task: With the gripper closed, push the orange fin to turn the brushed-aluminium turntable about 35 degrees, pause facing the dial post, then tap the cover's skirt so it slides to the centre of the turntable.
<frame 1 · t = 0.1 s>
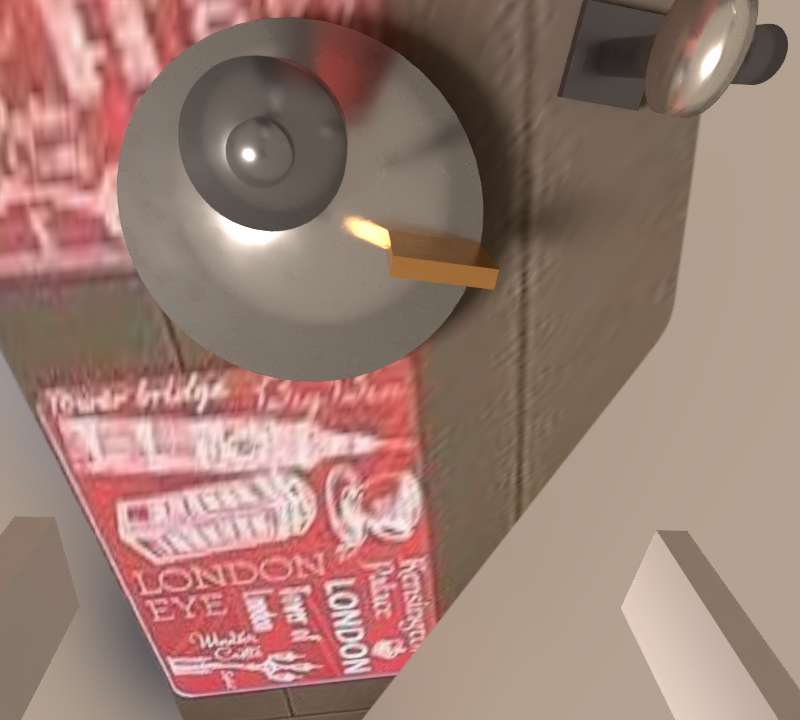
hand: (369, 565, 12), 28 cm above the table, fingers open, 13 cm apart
turntable: (304, 235, 32), point 5 cm above the table, hinge at 0.0°, touching cover
cover: (277, 137, 30), point 3 cm above the table, touching turntable
dial post: (608, 57, 32), on the table
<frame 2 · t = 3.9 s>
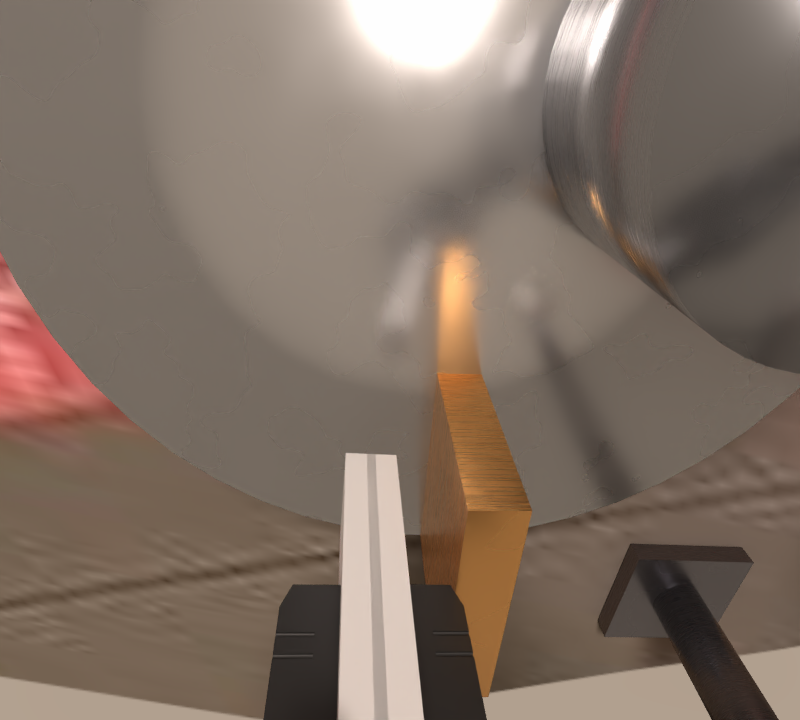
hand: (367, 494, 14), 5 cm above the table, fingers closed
turntable: (499, 193, 11), point 5 cm above the table, hinge at 2.6°, touching cover, gripper
cover: (730, 91, 11), point 3 cm above the table, touching turntable
dial post: (667, 585, 24), on the table
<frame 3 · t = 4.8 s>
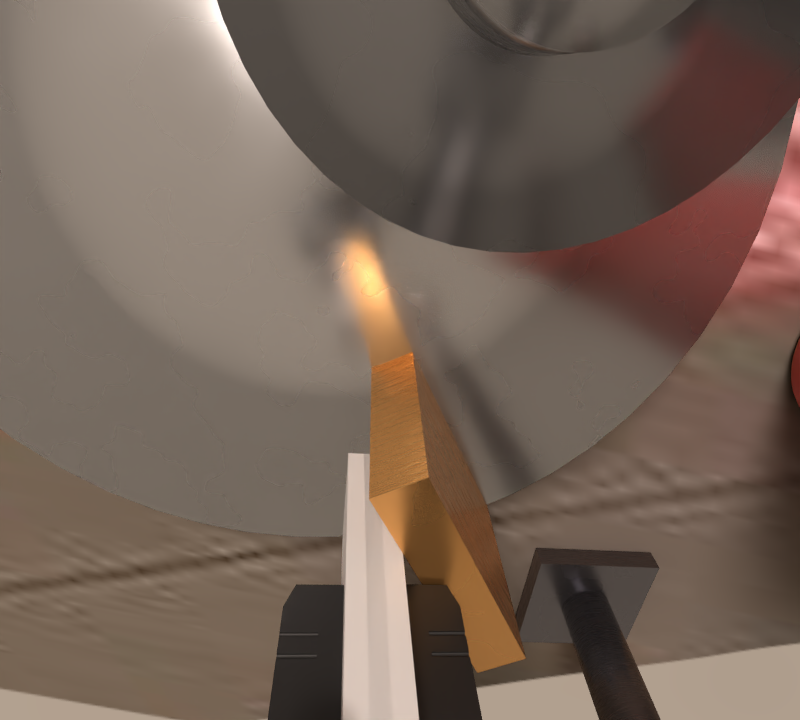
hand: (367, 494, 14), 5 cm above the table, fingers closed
turntable: (291, 195, 11), point 5 cm above the table, hinge at 29.3°, touching cover, gripper
dial post: (578, 590, 24), on the table
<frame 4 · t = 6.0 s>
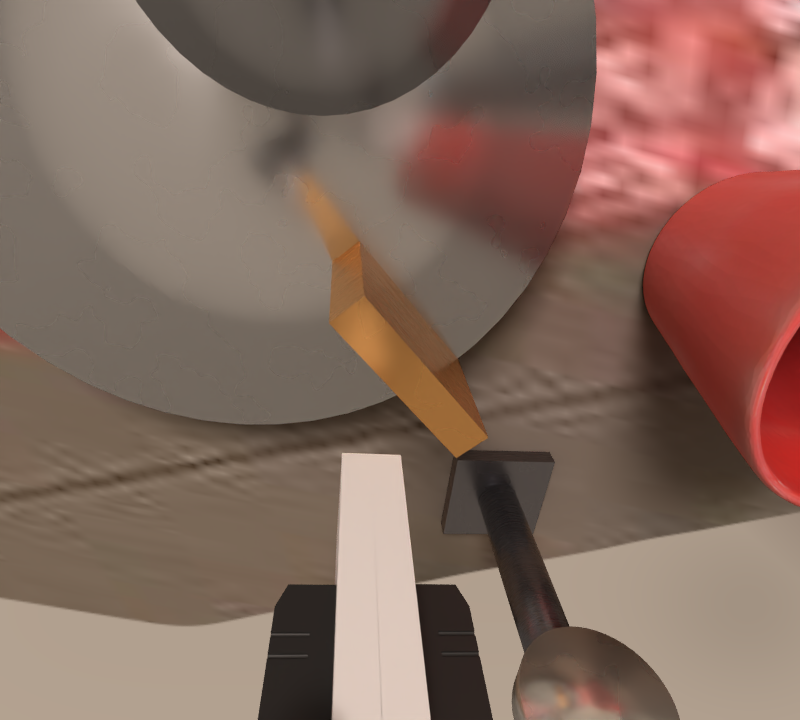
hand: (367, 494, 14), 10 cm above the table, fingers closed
flower pot: (722, 262, 24), on the table
turntable: (229, 131, 15), point 5 cm above the table, hinge at 43.2°, touching cover
dial post: (493, 488, 28), on the table
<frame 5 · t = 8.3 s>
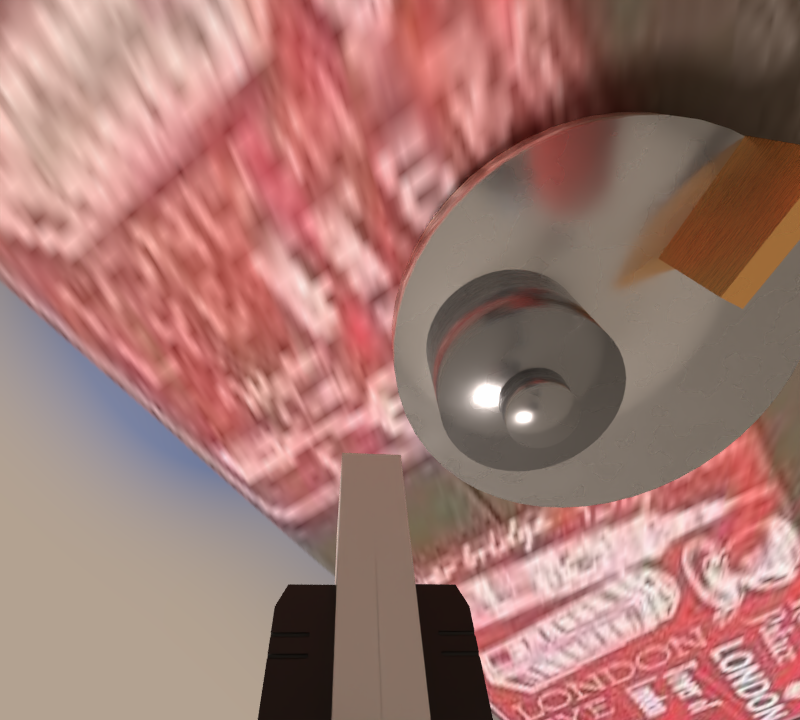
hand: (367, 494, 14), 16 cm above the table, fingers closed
turntable: (618, 362, 26), point 5 cm above the table, hinge at 43.2°, touching cover
cover: (504, 344, 27), point 3 cm above the table, touching turntable
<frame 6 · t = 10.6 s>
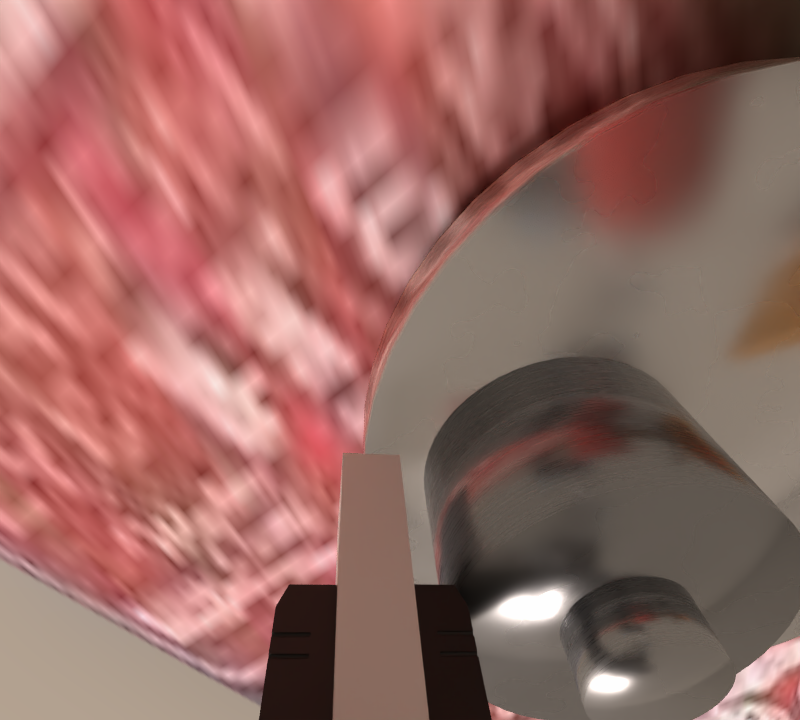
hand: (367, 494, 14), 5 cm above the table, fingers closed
turntable: (750, 498, 15), point 5 cm above the table, hinge at 43.2°, touching cover
cover: (554, 472, 16), point 3 cm above the table, touching gripper, turntable
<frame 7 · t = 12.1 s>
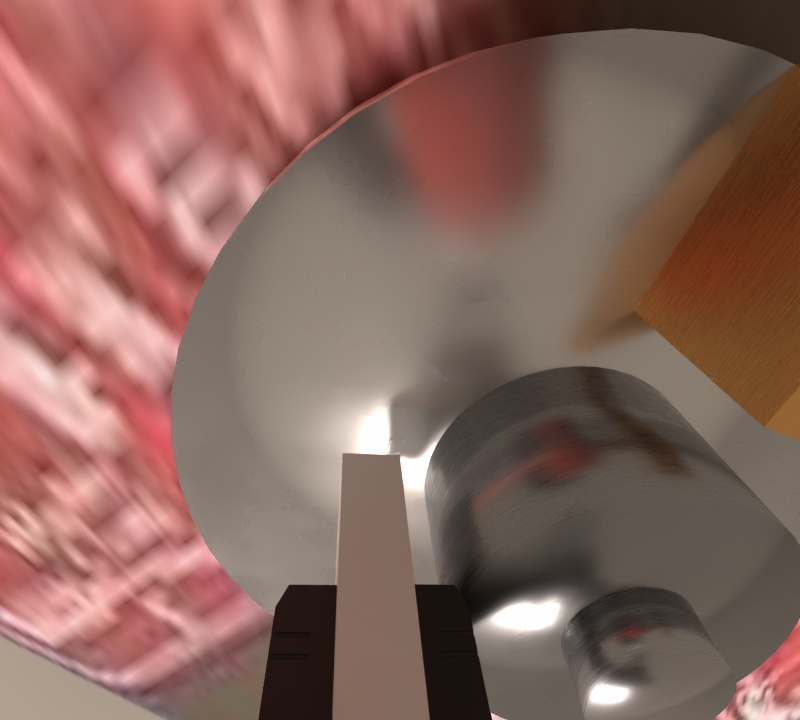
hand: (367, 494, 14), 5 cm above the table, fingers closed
turntable: (573, 497, 15), point 5 cm above the table, hinge at 43.5°, touching cover
cover: (554, 480, 16), point 3 cm above the table, touching gripper, turntable
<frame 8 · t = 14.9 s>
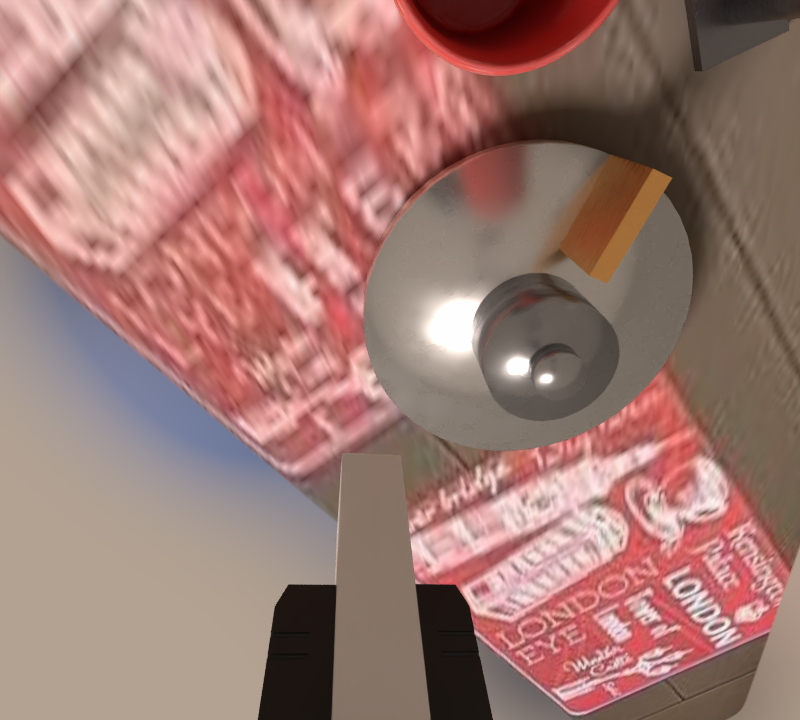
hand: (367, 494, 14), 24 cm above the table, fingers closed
turntable: (535, 329, 34), point 5 cm above the table, hinge at 43.5°, touching cover
cover: (528, 329, 36), point 3 cm above the table, touching turntable
dial post: (731, 5, 31), on the table
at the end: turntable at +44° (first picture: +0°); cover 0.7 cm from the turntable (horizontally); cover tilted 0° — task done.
